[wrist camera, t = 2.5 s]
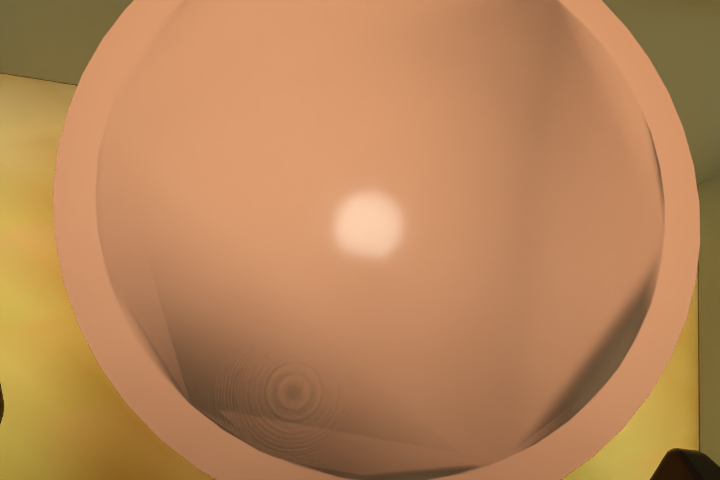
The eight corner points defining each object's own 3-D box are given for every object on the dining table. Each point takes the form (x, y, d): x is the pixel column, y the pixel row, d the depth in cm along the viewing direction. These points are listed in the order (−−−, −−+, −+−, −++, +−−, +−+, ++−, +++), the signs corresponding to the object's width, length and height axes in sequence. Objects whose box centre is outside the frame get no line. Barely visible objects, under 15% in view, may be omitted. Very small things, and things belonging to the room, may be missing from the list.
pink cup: (454, 424, 18) (762, 488, 6) (215, 447, 17) (42, 569, 5) (429, 200, 20) (638, -95, 8) (208, 211, 19) (61, -99, 7)
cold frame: (735, 663, 17) (1262, 987, 8) (-209, 563, 16) (-968, 821, 6) (725, 149, 21) (1074, -46, 12) (-37, 24, 20) (-349, -323, 10)
